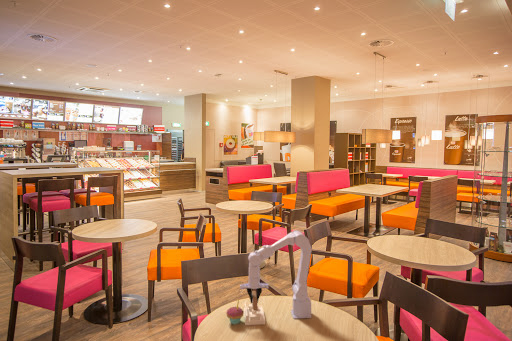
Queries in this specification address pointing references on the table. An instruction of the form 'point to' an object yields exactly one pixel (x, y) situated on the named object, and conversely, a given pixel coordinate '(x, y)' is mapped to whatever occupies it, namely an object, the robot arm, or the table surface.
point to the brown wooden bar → (254, 300)
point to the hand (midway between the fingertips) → (254, 302)
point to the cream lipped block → (253, 315)
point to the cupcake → (235, 314)
